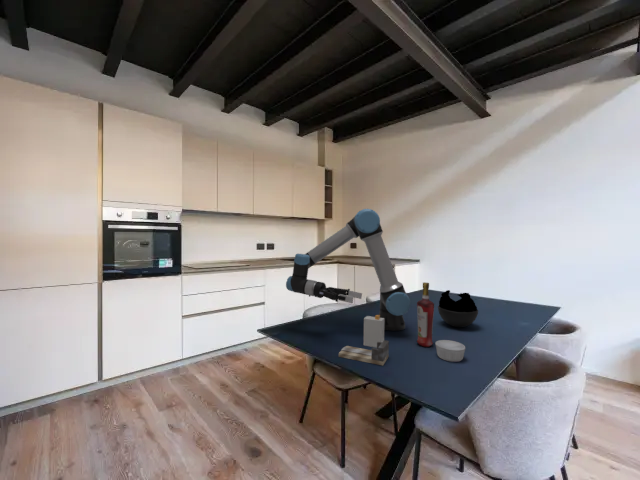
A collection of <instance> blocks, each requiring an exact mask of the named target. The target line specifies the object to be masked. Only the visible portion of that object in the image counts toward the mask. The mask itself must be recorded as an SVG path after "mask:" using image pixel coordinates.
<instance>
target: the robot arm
mask: <svg viewBox="0 0 640 480" xmlns="http://www.w3.org/2000/svg"><path fill="white" fill-rule="evenodd" d="M383 233H384V231H383V228H382V226H381V219H380V216H379V214H378V213H377V212H376V211H375V210H374V209H370V208H363V209H361V210H359V211H358V212H357V213H356V214H355V215H354V217H352V218H351V219H350V220H349V221H348V222H346V223H345V226H344V227H342V228H341V229H340V230H337V232H335V233H334V234H332V235H331V236H329V237H327V238H326V239H325V240H323V241H322V242H321V243H319V244H317V245H316V246H315V247H313V248H312V249H310V250H309V251H307V252H306V253H296V254H295V255H294V256H295V257H294V260H293V268H292V270H293V271H292V275H290V276H288V277H287V279H286V282H285V287H286V289H287V290H288V291H290V292H292V293H295V294H296V293H298V294H301V295H306V296H308V297H315V298H319V299H322V298H325V299H329V300H332V301H335V302H336V303H338V301H341V302H345V303H349V304H353V303H354V298H355V299H359V300H362V297H363V296H362V295H363V293H362V292H359V291H353V290H351V288H348V289H347V288H346V289H345V288H339V287H332V286H328V287H327V285H326V283H325V282H322V281H317V280H312V279H308V274H309V269H311V267H313V266H314V265H316V264H317V263H318V262H320V261H321V260H322V259H324V258H326V257H327V256H328V255H331V254H332V253H333V252H335V251H336V250H338V249H340V248H341V247H342V246H344V245H345V244H347V243H348V242H350V241H351V240H353V239H357V238H359V239H360V241H362V242H364V244H365V246H366V249H367V252H368V254H369V257H370V260H371V263H372V266H373V268H374V271H375V274H376V277H377V278H378V281H379V285H380V287H379V313H378V315H380V318H384V331H392V332H393V331H394V332H395V331H398V332H399V331H403V330H404V329H406V323H405V318H404V316H403V315H405V314H407V313H408V311H410V308H411V299H410V297H409V296H408V294H407V293H406V290H405V287H404V284H403V283H402V282H400V281H398V277H397V274H396V272H395V269H394V267H393V264H392V261H391V259H390V255H389V253H388V250H387V247H386V245H385V243H384V240H383V236H382V235H383Z"/></svg>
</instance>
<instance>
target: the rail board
mask: <svg viewBox="0 0 640 480" xmlns="http://www.w3.org/2000/svg"><path fill="white" fill-rule="evenodd" d="M389 344H390V341H389V340H385V339H384V341H383V342H377V348H376V347H371V349H366V348H360V347H355V346H351V345H350V346H349V345H346V346H344V347H342V348H341V350H340V351H339V352H338V358H343V359H349V360H353V361H359V362H363V363H369V364H373V365H377V366H384V365H385V363H386V362H387V360H388V358H389V355H390V354H389V353H390V352H389V350H390V347H389V346H390V345H389Z"/></svg>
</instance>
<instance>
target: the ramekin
mask: <svg viewBox="0 0 640 480" xmlns="http://www.w3.org/2000/svg"><path fill="white" fill-rule="evenodd" d="M434 343H435V348H436V354H437V357H438V358H439V359H441V360H443V361H447V362H453V363H454V362H456V363H458V362H462V360H463V359H464V356H465V351H466V346H465V345H464V344H463V343H462V342H458V341H455V340H448V339H439V340H436V341H435V342H434Z"/></svg>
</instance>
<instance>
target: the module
mask: <svg viewBox="0 0 640 480" xmlns="http://www.w3.org/2000/svg"><path fill="white" fill-rule="evenodd" d="M384 340H385V330H384V318H380V315H379V314H376V315H375V316H370V315H366V316H365V317H364V318H363V346H365V347H371V348H376V349H377V342H383V341H384Z"/></svg>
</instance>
